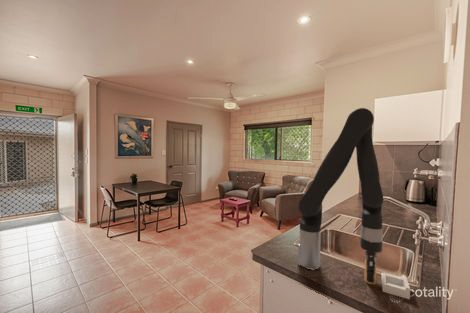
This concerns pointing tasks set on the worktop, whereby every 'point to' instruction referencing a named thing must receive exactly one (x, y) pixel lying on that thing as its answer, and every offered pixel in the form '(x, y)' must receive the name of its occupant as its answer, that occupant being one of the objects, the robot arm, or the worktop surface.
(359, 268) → the worktop surface
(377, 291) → the worktop surface
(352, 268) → the worktop surface
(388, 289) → the housing
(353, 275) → the worktop surface
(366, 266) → the orange capsule
